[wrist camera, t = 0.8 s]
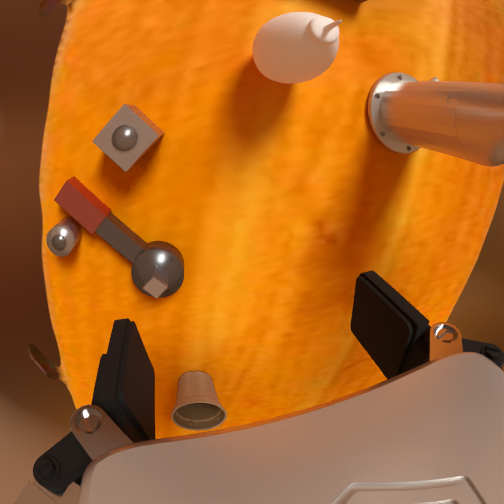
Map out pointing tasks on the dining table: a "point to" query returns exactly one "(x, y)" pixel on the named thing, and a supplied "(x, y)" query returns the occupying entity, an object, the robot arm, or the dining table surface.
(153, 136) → the socket
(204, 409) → the flower pot
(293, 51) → the white air blower bulb
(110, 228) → the ratchet
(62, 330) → the dining table surface
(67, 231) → the socket
